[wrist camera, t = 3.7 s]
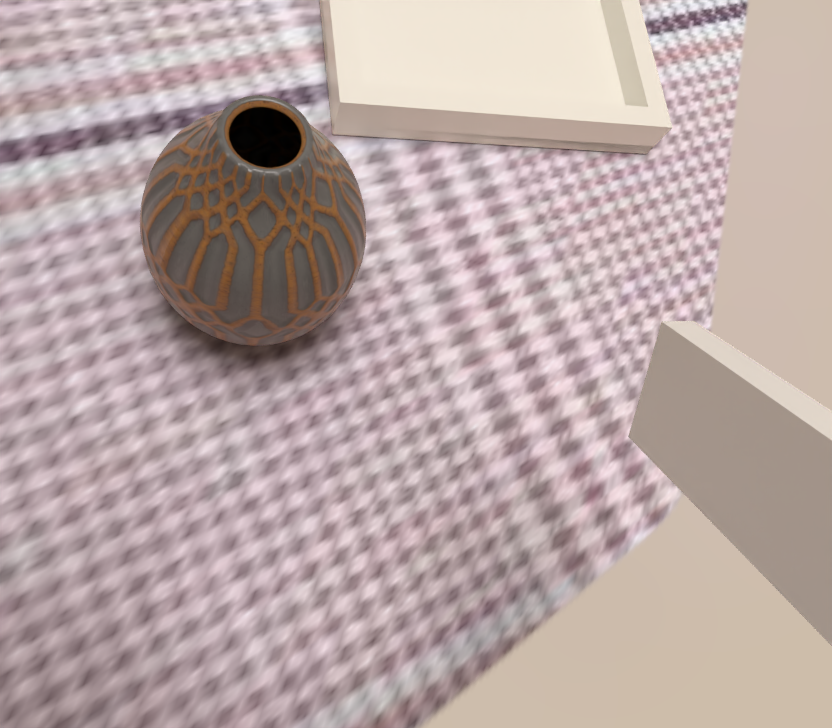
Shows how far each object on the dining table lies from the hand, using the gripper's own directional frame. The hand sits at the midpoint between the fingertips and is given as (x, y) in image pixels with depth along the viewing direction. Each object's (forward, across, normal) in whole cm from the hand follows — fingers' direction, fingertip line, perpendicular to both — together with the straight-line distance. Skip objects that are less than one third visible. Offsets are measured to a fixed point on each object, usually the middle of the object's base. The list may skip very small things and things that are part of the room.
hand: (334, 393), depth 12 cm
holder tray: (+24, +10, +7) cm, 27 cm away
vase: (+14, -1, -3) cm, 14 cm away
